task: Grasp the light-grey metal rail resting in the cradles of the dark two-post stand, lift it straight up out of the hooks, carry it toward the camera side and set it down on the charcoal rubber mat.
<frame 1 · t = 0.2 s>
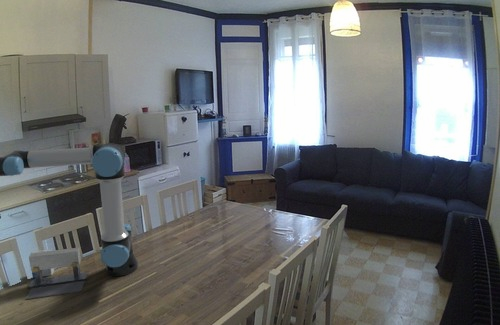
ink box: (43, 274, 166), on the table
mat: (56, 290, 153), on the table
rail: (56, 265, 158), point 8 cm above the table, touching stand
stand: (58, 281, 160), on the table
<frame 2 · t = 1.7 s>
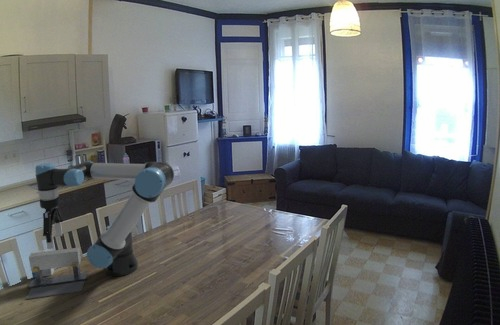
hand: (55, 241, 156), 20 cm above the table, fingers open, 13 cm apart
nothing on the table moved.
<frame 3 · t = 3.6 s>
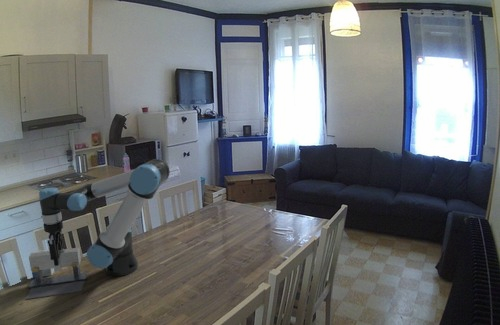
hand: (59, 268, 159), 7 cm above the table, fingers closed on rail, 4 cm apart
rail: (56, 265, 158), point 8 cm above the table, touching gripper, stand
everything else where it was.
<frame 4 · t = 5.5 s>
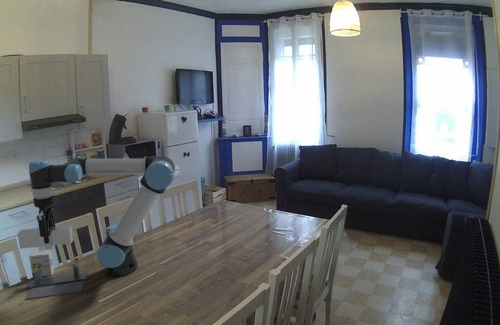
hand: (50, 246, 149), 21 cm above the table, fingers closed on rail, 4 cm apart
rail: (47, 244, 149), point 22 cm above the table, touching gripper
everything else where it was.
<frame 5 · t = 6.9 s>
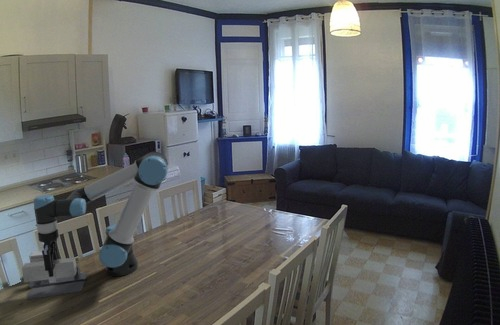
hand: (54, 279, 151), 6 cm above the table, fingers closed on rail, 4 cm apart
rail: (51, 276, 151), point 7 cm above the table, touching gripper
everything else where it was.
when the fingers open (1 cm above the table, at t = 7.9 s): rail drops 2 cm, resting on mat.
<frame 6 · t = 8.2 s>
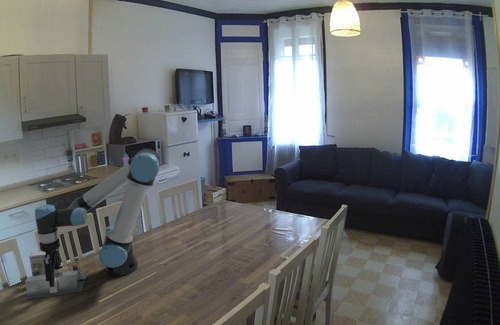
hand: (56, 287, 152), 2 cm above the table, fingers open, 7 cm apart
rail: (54, 289, 152), resting on mat
everything else where it was.
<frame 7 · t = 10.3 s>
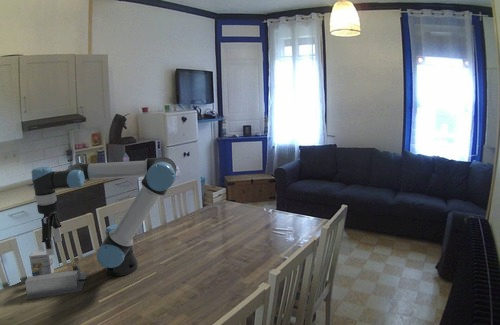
hand: (54, 248, 150), 20 cm above the table, fingers open, 13 cm apart
nothing on the table moved.
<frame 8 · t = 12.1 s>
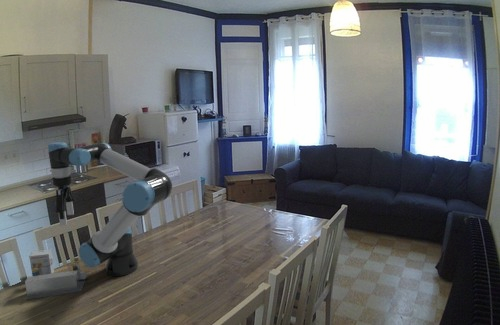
hand: (67, 219, 159), 29 cm above the table, fingers open, 13 cm apart
nothing on the table moved.
at the end: rail inside the target area on the mat (1.0 cm from its centre), point 0.5 cm above the mat's base; rail tilted 0°; the gripper is holding nothing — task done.
